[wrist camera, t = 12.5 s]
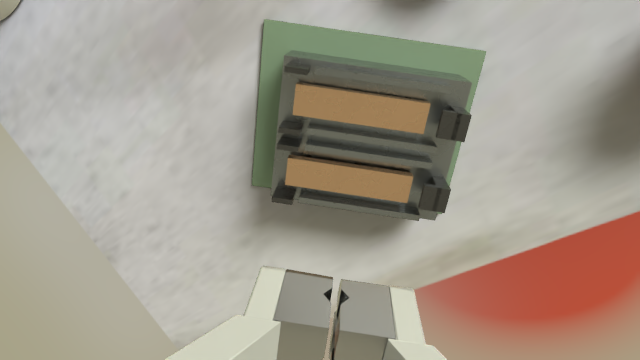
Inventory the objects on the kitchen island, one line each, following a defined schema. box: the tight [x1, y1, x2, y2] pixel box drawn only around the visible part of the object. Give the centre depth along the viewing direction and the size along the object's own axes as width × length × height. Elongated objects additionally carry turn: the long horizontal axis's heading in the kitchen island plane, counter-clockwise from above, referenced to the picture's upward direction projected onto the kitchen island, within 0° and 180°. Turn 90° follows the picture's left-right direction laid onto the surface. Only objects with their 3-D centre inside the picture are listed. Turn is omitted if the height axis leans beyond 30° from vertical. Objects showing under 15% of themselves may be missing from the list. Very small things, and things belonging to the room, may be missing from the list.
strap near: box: [293, 82, 431, 134], centre depth 38 cm, size 12×3×1 cm, turn 82°
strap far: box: [285, 154, 413, 203], centre depth 41 cm, size 12×3×1 cm, turn 82°
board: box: [252, 19, 486, 214], centre depth 45 cm, size 22×18×1 cm
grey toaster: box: [271, 50, 472, 221], centre depth 41 cm, size 17×14×8 cm
